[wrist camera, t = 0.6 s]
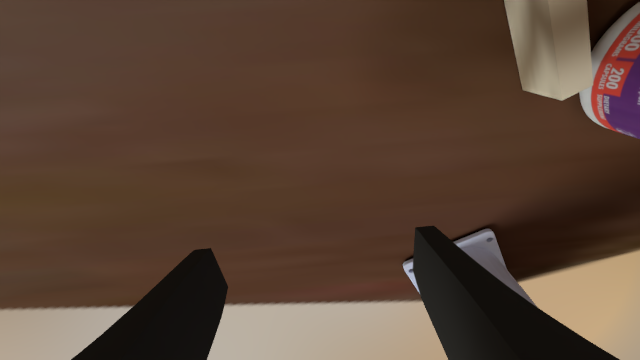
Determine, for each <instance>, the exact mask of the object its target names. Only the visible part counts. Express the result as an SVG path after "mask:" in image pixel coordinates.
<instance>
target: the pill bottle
mask: <svg viewBox="0 0 640 360" xmlns="http://www.w3.org/2000/svg"><path fill="white" fill-rule="evenodd" d="M591 61H592V74H593V86H591V87H589V88H587V89H584V90H582V91H580V92H579V93H580V101H581V105H582V107H583V109H584V111H585V113H586V114H587V115H588V117H589V118H590V119H591V120H592V121H594V122H595V123H597V124H599V125H601V126H603V127H605V128H608V129H611V130H613V131H616V132H619V133H623V134H626V135H629V136H632V137H635V138H638V139H640V2H638V3H637V4H636V5H634V6H633V7H632V8H630V9H629V10H628V11H627V12H626V13H624V14H623V15H622V16H621V17H620V18H619V19H618V20H617V21H616V22H615V23H614V24H613V25H612V26H611V27H610V28H609V29H608V30H607V31H606V32H605V34H604V35H603V36H602V37H601V38H600V40H599V41H598V42H597V44H596V45H595V47H594V48H593V50H592V52H591Z"/></svg>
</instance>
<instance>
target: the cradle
mask: <svg viewBox="0 0 640 360" xmlns="http://www.w3.org/2000/svg"><path fill="white" fill-rule="evenodd" d="M504 3H505V8H506V13H507V18H508V22H509V27H510V32H511V37H512V41H513V46H514V51H515V56H516V61H517V65H518V70H519V75H520V80H521V85H522V89H523V90H524V91H528V92H532V93H536V94H539V95H543V96H547V97H550V98H554V99H558V100H564V99H566V98H568V97H570V96H572V95H574V94H576V93H578V92H580V91H582V90H584V89H587V88H589V87H591V86H593V74H592V61H591V48H590V35H589V22H588V9H587V0H504Z"/></svg>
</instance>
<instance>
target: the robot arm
mask: <svg viewBox="0 0 640 360" xmlns="http://www.w3.org/2000/svg"><path fill="white" fill-rule="evenodd" d="M403 268H404V270H405V272H406V273H407V275H408V276H409V278H410V279H411V281H412V282H413V284H414V286H415V287H416V289H417V290H418V292H419V293H420V295H421V298H422V301H423V303H424V305H425V308H426V310H427V312H428V314H429V317H430V319H431V321H432V324H433V326H434V328H435V330H436V333H437V335H438V337H439V339H440V341H441V344H442V346H443V348H444V350H445V353H446V355H447V357H448V360H619V359H618V358H616V357H614V356H613V355H611V354H609V353H608V352H606V351H604V350H602V349H601V348H599V347H598V346H596V345H594V344H593V343H591V342H589V341H588V340H586V339H585V338H583V337H582V336H580V335H578V334H577V333H575V332H574V331H572V330H571V329H569V328H568V327H566V326H564V325H563V324H561V323H560V322H558V321H557V320H555V319H554V318H552V317H551V316H549V315H548V314H546V313H545V312H543V311H542V310H540V309H539V308H537V306H536V305H535V304H534V302H533V301H532V300H531V299H530V297H529V296H528V295H527V294H526V292H525V291H524V290H523V289H522V288H521V286H520V285H519V284H518V283H517V281H516V280H515V279H514V278H513V276H512V275H511V274H510V273H509V272H508V270H507V268H506V265H505V263H504V260H503V257H502V254H501V251H500V249H499V246H498V243H497V240H496V237H495V235H494V233H493V231H492V230H491V229H484V230H481V231H479V232H476V233H474V234H471V235H469V236H467V237H464V238H462V239H459V240H457V241H454V242H452V241H451V240H450V239H449V238H448V237H446V236H445V235H444V234H443V233H442V232H441V231H439V230H438V229H437V228H436V227H435V226H426V227H416V228H415V241H414V256H413V259H410V260H408V261H405V262H404V263H403ZM227 289H228V286H227V283H226V281H225V279H224V277H223V274H222V272H221V270H220V268H219V265H218V263H217V261H216V259H215V256H214V254H213V252H212V250H211V248H209V249H199V250H194V251H193V252H192V253H190V254H189V255H188V256H187V257H186V258H185V259H184V260H183V261H182V262H180V263H179V264H178V265H177V266H176V267H175V268H174V269H173V270H172V271H171V272H170V273H169V274H168V275H167V276H166V277H165V278H164V279H163V280H161V281H160V282H159V283H158V284H157V285H156V286H155V287H154V288H153V289H152V290H151V291H150V292H149V293H148V294H147V295H146V296H144V297H143V298H142V299H141V300H140V301H139V302H138V303H137V304H136V305H135V306H134V307H132V308H131V309H130V310H129V311H128V312H127V313H126V314H124V315H123V316H122V317H121V318H120V319H119V320H118V321H117V322H115V323H114V324H113V325H112V326H111V327H110V328H109V329H108V330H106V331H105V332H104V333H103V334H102V335H101V336H100V337H98V338H97V339H96V340H95V341H94V342H92V343H91V344H90V345H89V346H88V347H86V348H85V349H84V350H83V351H82V352H80V353H79V354H78V355H76V356H75V357H74V358H73V359H71V360H207V357H208V354H209V351H210V349H211V346H212V343H213V340H214V337H215V334H216V331H217V328H218V325H219V323H220V319H221V316H222V313H223V308H224V304H225V299H226V294H227Z"/></svg>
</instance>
